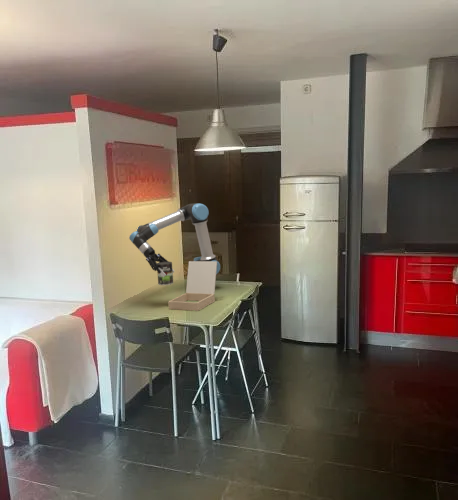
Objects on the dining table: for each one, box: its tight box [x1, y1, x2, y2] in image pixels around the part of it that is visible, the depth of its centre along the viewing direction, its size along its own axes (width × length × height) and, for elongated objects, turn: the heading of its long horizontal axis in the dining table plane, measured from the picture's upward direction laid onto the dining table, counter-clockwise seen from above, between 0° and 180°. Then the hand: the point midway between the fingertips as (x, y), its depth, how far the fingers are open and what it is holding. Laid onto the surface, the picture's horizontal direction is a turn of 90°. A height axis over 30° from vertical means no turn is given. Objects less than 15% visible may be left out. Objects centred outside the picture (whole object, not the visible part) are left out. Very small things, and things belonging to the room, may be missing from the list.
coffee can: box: [156, 261, 174, 286], centre depth 301 cm, size 10×10×14 cm
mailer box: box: [167, 260, 218, 312], centre depth 298 cm, size 30×22×26 cm
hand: (168, 274), depth 299 cm, fingers closed on coffee can, 10 cm apart
